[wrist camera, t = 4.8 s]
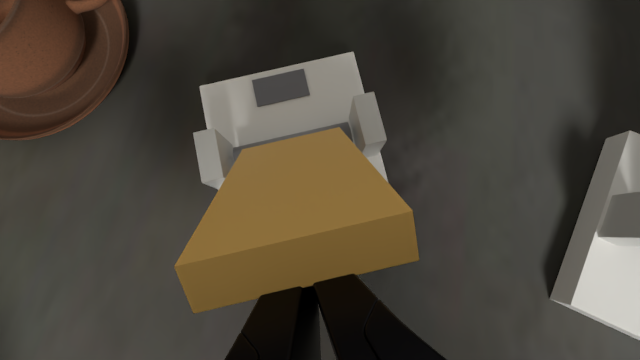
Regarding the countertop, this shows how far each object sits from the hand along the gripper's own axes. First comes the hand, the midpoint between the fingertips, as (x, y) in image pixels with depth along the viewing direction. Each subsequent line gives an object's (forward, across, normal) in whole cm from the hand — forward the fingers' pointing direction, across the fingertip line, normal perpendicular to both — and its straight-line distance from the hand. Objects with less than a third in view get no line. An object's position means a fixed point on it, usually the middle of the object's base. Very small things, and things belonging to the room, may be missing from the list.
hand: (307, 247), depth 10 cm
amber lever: (+8, 0, -2) cm, 9 cm away
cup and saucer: (+18, -14, +4) cm, 23 cm away
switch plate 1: (+10, 0, -3) cm, 11 cm away
